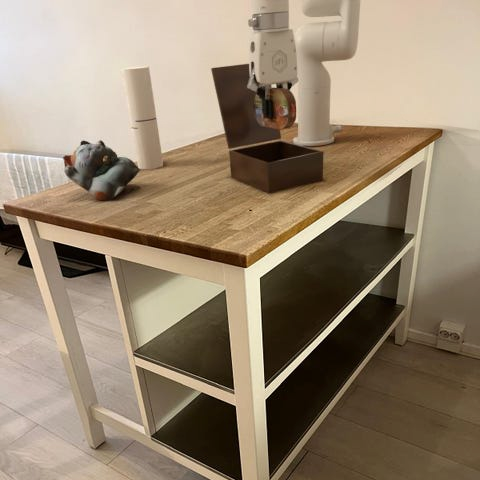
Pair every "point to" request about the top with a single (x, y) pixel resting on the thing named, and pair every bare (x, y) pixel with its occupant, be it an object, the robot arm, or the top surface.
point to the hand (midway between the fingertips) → (274, 116)
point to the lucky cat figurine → (99, 170)
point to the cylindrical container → (142, 116)
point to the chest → (276, 165)
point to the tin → (277, 109)
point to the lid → (239, 107)
